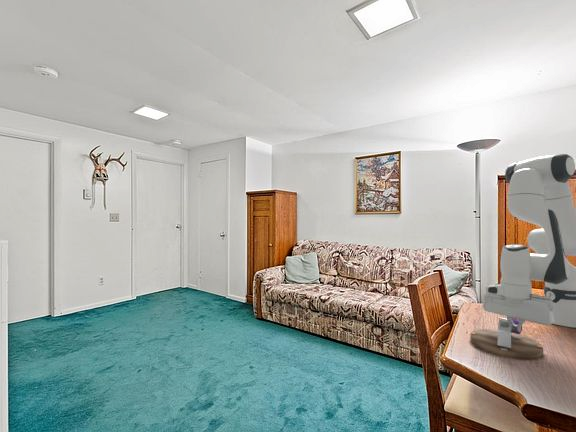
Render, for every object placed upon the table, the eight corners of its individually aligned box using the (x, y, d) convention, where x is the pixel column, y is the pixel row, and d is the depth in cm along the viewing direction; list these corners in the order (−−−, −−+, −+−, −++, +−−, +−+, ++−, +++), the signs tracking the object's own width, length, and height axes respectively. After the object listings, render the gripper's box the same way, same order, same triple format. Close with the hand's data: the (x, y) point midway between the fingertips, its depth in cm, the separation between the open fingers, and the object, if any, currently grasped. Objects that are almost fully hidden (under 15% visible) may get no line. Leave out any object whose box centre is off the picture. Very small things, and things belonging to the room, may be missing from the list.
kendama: (523, 313, 125) (524, 323, 109) (519, 327, 126) (520, 339, 110) (505, 308, 129) (504, 317, 113) (502, 321, 129) (500, 332, 113)
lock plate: (473, 330, 117) (473, 323, 117) (540, 343, 105) (540, 335, 105) (467, 348, 101) (467, 341, 101) (545, 366, 89) (545, 357, 89)
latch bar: (499, 329, 111) (499, 315, 111) (511, 331, 109) (511, 317, 109) (497, 345, 97) (497, 329, 97) (511, 348, 95) (511, 332, 95)
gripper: (556, 296, 99) (557, 338, 99) (488, 284, 116) (488, 320, 116) (550, 299, 96) (550, 342, 96) (480, 286, 113) (480, 323, 113)
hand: (515, 330), depth 106 cm, fingers closed
